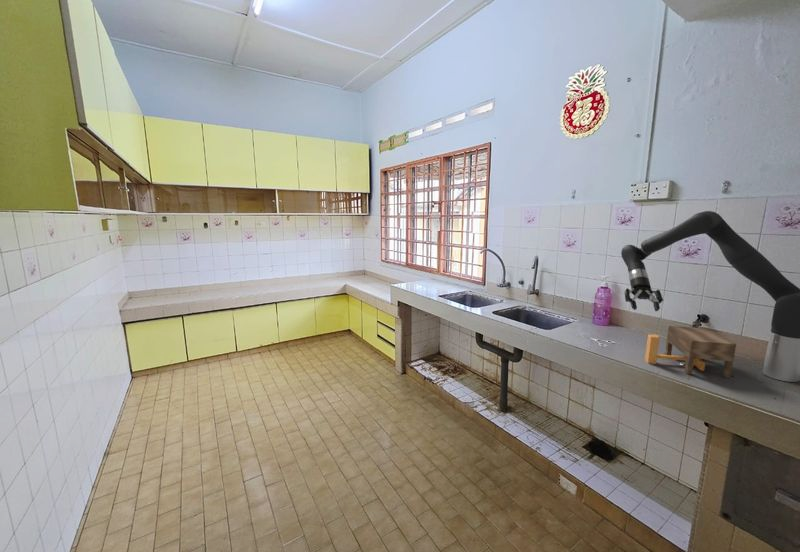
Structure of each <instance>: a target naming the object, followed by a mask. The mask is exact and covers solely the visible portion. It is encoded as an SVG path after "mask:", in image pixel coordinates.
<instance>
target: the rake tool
mask: <svg viewBox="0 0 800 552" xmlns="http://www.w3.org/2000/svg"><path fill="white" fill-rule="evenodd" d="M660 338H661V337H660V336H659V335H657V334H648V335H647V340H646V341H647V342H646V347H645V356H644V361H645V362H646V363H647V364H653V365H657V360H658V359H664V360H676V361H684V362H686V360H687V356H686V355H684V356H683V355H673V354H671V355H665V354H661V353H660V354H659V344H660ZM693 365H694V367H696V368H697V369H698V370H700V371H702V372H703V371H705V368H706V361H705V360H701V359H699V358H694V363H693Z"/></svg>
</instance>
